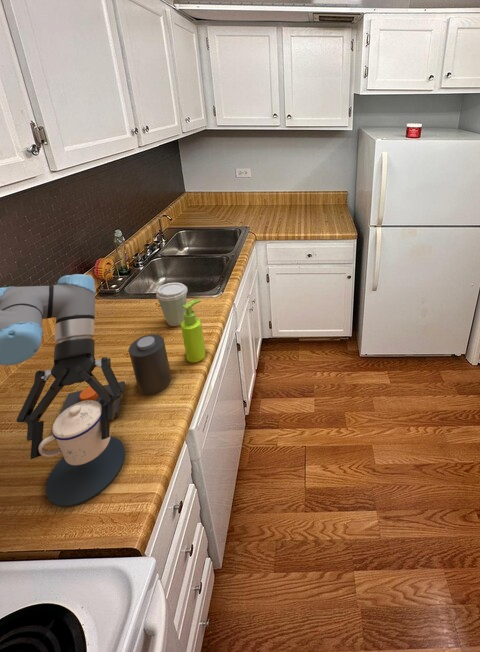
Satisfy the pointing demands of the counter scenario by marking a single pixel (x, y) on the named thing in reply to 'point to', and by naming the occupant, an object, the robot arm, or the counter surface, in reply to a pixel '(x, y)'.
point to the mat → (85, 476)
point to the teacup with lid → (77, 433)
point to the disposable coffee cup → (172, 302)
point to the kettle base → (75, 398)
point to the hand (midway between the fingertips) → (71, 447)
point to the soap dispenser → (192, 334)
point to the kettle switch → (88, 394)
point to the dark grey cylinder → (150, 364)
